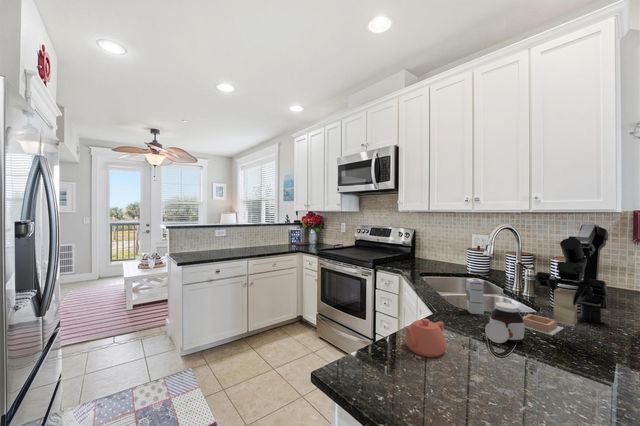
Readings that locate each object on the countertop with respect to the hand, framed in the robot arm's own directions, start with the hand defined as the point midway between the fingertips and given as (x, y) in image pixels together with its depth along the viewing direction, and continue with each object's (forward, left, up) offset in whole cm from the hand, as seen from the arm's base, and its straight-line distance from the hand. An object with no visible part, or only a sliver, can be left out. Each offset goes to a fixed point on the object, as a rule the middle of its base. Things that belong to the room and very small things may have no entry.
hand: (563, 302), depth 97 cm
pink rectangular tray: (-13, -1, -13) cm, 19 cm away
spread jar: (+3, -20, -14) cm, 24 cm away
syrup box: (-26, -20, -14) cm, 36 cm away
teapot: (+17, -49, -14) cm, 54 cm away
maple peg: (-1, +1, -7) cm, 7 cm away
